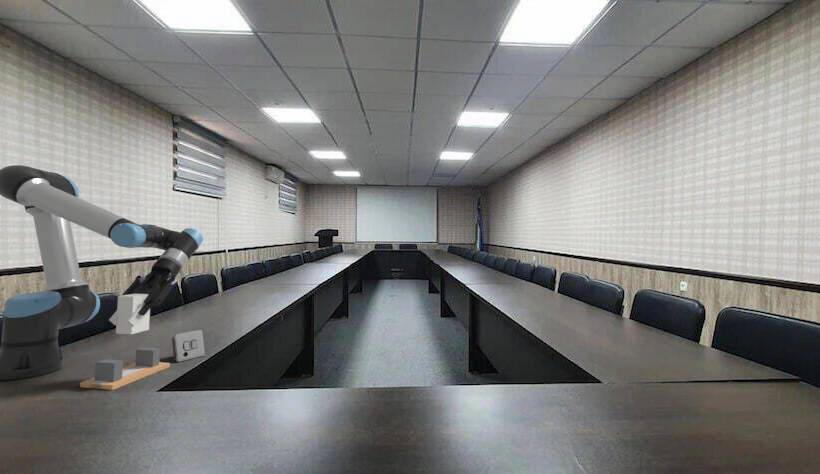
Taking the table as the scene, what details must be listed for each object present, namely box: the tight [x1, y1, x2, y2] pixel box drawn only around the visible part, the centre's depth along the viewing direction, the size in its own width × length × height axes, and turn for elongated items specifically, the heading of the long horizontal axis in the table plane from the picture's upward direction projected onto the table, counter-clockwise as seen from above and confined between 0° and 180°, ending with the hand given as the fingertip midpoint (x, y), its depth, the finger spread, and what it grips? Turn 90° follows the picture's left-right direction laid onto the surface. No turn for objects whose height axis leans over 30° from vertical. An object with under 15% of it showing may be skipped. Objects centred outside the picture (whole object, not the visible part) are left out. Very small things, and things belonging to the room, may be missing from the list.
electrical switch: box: [171, 329, 206, 363], centre depth 121 cm, size 9×5×9 cm, turn 152°
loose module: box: [115, 293, 151, 335], centre depth 104 cm, size 5×6×11 cm
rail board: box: [79, 347, 171, 391], centre depth 103 cm, size 10×19×6 cm, turn 173°
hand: (121, 323), depth 101 cm, fingers closed on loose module, 5 cm apart
